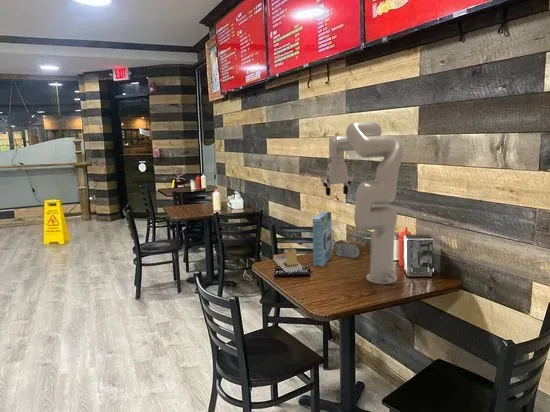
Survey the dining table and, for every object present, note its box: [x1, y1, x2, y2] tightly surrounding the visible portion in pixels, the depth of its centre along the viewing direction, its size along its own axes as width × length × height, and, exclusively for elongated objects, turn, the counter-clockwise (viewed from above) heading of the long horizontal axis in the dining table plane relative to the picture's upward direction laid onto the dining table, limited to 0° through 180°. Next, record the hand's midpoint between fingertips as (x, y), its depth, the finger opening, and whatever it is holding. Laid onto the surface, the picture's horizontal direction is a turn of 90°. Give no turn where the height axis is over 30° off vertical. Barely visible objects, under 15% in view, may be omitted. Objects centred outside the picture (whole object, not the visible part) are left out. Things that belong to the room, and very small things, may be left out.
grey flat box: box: [272, 253, 303, 272], centre depth 200 cm, size 22×8×3 cm, turn 14°
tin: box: [332, 239, 364, 260], centre depth 212 cm, size 15×3×8 cm, turn 58°
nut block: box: [283, 248, 298, 267], centre depth 193 cm, size 4×4×9 cm
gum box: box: [312, 211, 333, 267], centre depth 205 cm, size 20×5×23 cm, turn 160°
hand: (336, 194), depth 215 cm, fingers open, 9 cm apart
